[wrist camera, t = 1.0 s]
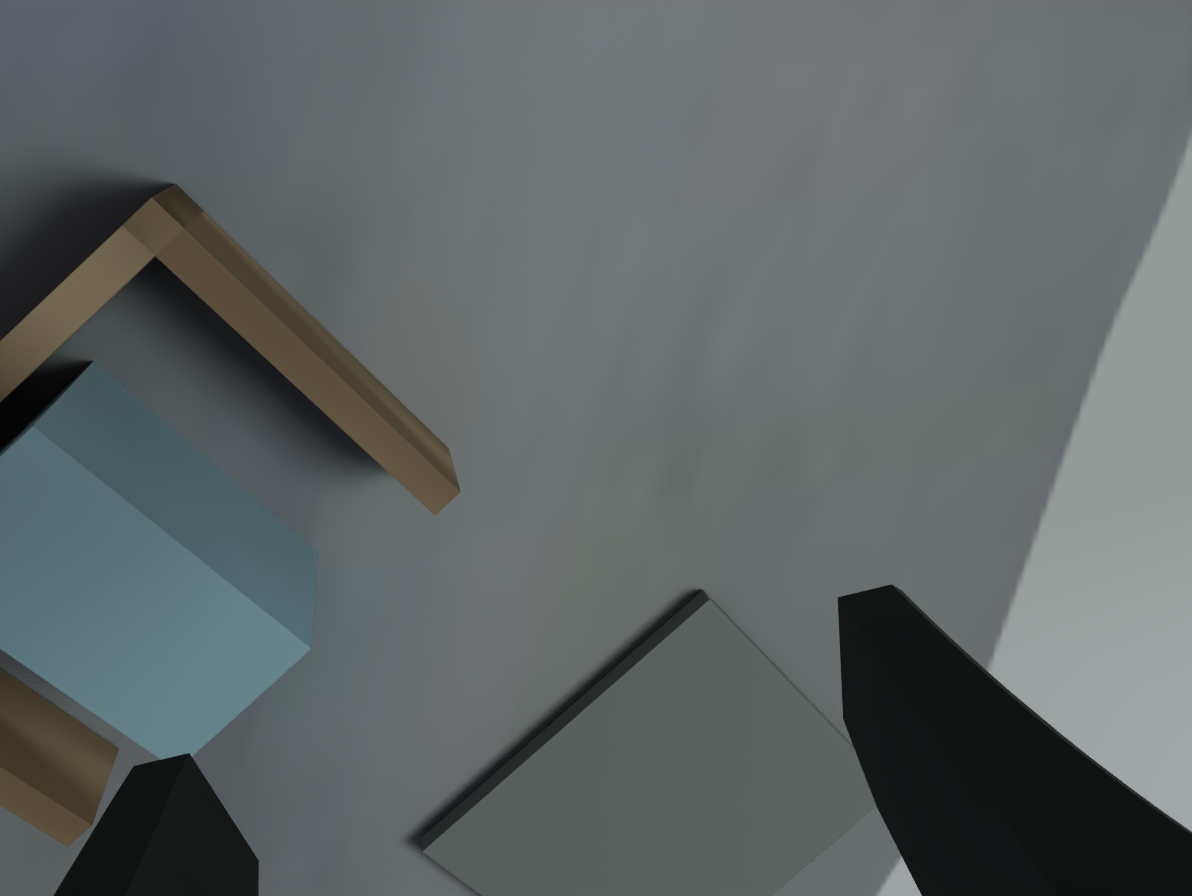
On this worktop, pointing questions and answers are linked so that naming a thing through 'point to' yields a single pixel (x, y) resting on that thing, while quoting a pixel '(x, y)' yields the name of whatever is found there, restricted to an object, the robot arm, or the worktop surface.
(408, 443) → the arch frame
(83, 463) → the block
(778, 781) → the mat
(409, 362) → the worktop surface
